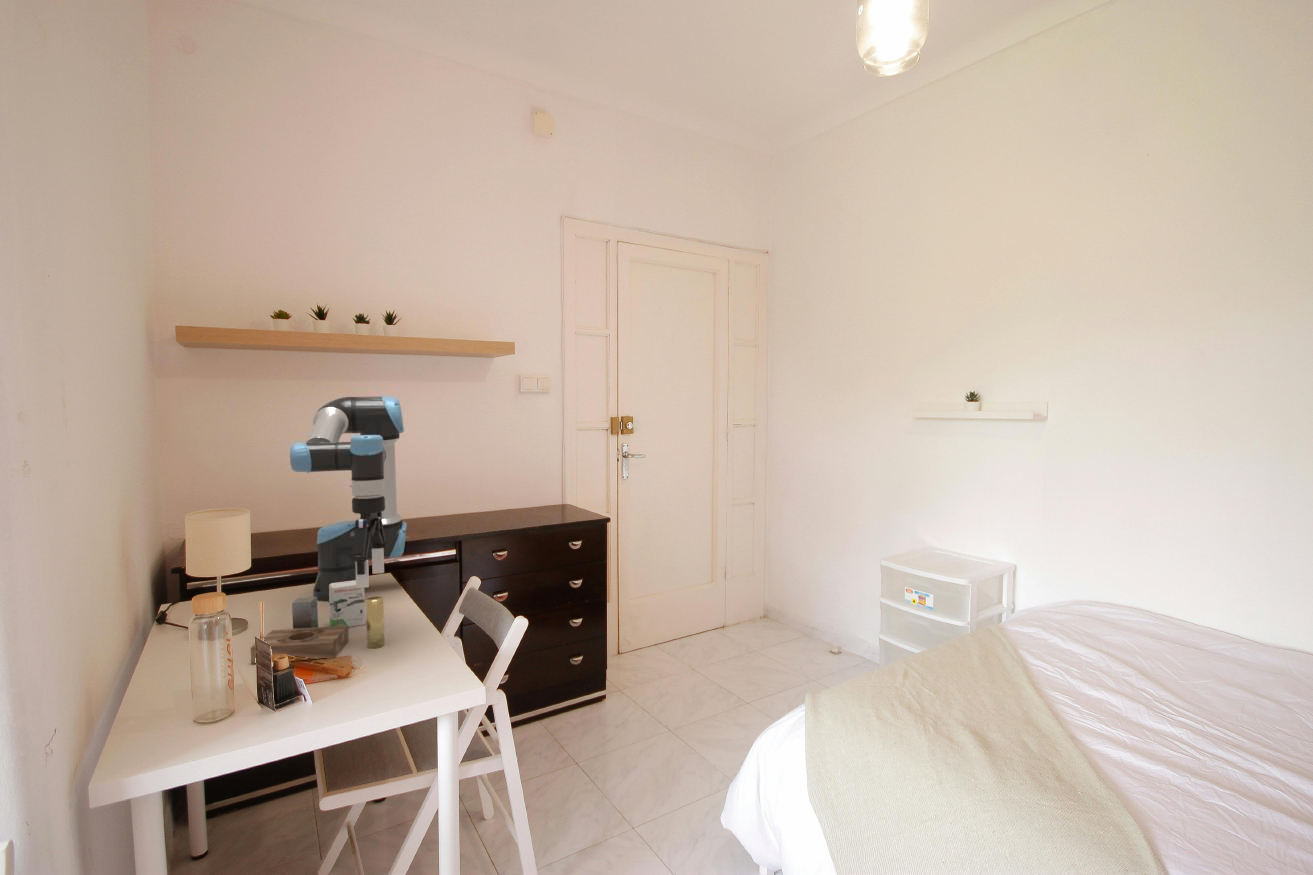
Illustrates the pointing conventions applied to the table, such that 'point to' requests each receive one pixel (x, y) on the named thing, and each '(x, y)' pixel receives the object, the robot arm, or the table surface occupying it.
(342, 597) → the ink box
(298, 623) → the square bit
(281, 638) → the bore block
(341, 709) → the table surface
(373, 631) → the cylinder
